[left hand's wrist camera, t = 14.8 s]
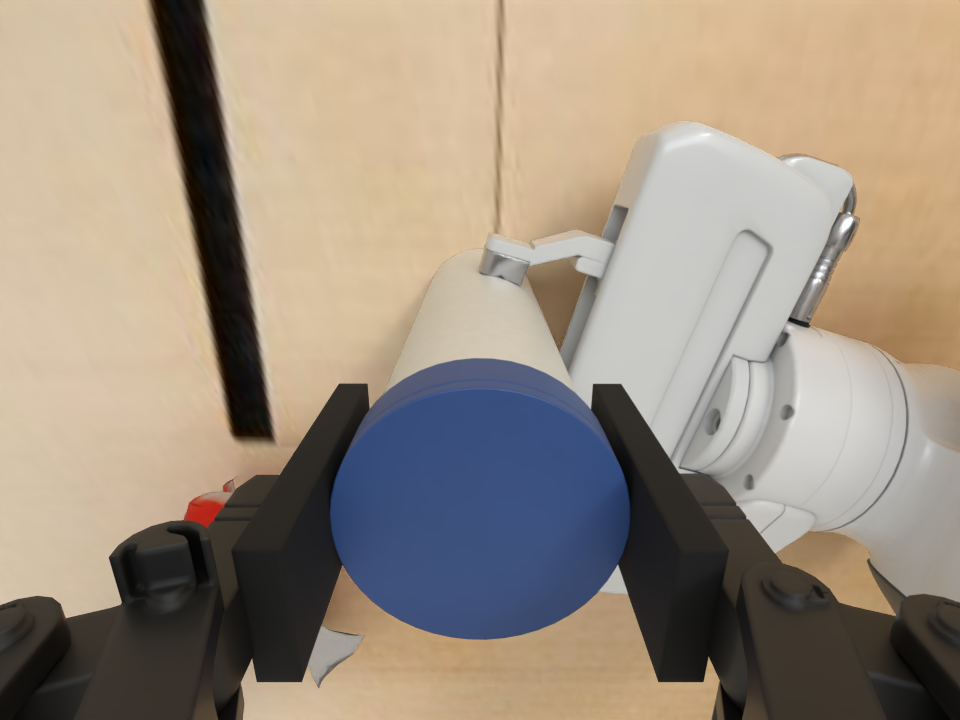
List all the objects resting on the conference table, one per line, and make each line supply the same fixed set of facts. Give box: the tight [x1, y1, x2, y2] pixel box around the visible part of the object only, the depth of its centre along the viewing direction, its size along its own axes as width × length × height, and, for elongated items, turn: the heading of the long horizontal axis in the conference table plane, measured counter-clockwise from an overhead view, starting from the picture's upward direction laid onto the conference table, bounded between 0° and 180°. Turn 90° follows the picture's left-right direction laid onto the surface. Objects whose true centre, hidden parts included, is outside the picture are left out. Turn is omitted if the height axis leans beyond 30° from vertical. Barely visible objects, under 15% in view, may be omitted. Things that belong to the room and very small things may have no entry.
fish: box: [184, 476, 365, 688], centre depth 30 cm, size 11×16×10 cm
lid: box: [330, 358, 631, 640], centre depth 11 cm, size 6×6×2 cm
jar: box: [383, 249, 577, 395], centre depth 20 cm, size 6×6×18 cm
